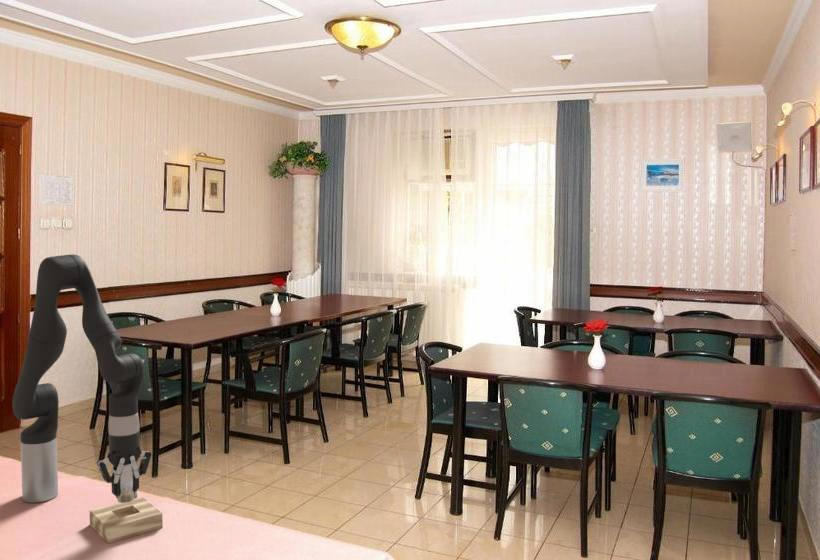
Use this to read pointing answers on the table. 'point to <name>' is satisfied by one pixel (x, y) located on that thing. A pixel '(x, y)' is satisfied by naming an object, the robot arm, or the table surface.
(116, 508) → the socket block
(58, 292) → the robot arm
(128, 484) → the pin
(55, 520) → the table surface
